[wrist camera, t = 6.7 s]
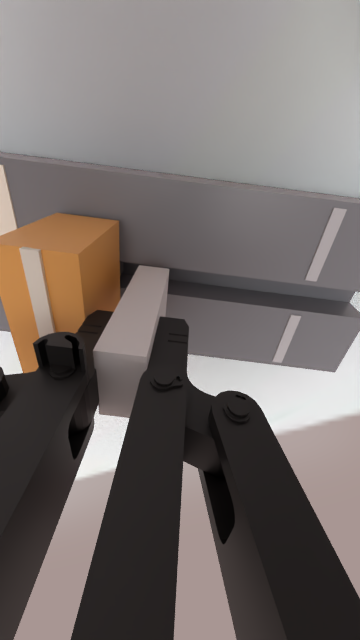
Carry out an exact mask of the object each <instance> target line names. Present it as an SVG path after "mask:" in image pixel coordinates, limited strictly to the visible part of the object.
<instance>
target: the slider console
mask: <svg viewBox="0 0 360 640" xmlns="http://www.w3.org/2000/svg"><path fill="white" fill-rule="evenodd" d="M55 213H63V214H71V215H79V216H86V217H94V218H102V219H110V220H118V221H119V251H120V261H121V262H123V265H124V271H123V272H122V274H121V275H120V300H121V298H122V296H123V294H124V292H125V290H126V289H127V287H128V285H129V283H130V281H131V279H132V277H133V276H134V274H135V272H136V270H137V268H138V266H139V265H142V266H151V267H159V268H167V269H169V280H168V292H167V304H166V316H165V317H169V318H178V319H185V321H186V323H187V324H188V326H189V338H188V354H193V355H201V356H209V357H217V358H225V359H233V360H241V361H249V362H257V363H265V364H273V365H281V366H289V367H297V368H305V369H313V370H321V371H329V372H335V371H336V370H337V368H338V366H339V364H340V363H341V361H342V359H343V358H344V356H345V354H346V353H347V351H348V349H349V348H350V346H351V344H352V342H353V341H354V339H355V337H356V336H357V334H358V332H359V331H360V312H359V311H357V310H356V309H355V308H354V307H353V306H352V305H351V304H350V303H349V302H350V300H351V298H352V297H353V295H354V293H355V291H358V292H360V199H359V198H351V197H344V196H336V195H328V194H320V193H313V192H305V191H297V190H289V189H282V188H274V187H266V186H258V185H251V184H243V183H235V182H228V181H220V180H212V179H204V178H197V177H189V176H181V175H173V174H166V173H158V172H150V171H142V170H135V169H127V168H119V167H111V166H104V165H96V164H88V163H80V162H73V161H65V160H57V159H49V158H42V157H34V156H26V155H18V154H11V153H3V152H0V236H1V235H3V234H6V233H8V232H11V231H13V230H16V229H18V228H20V227H23V226H25V225H28V224H30V223H33V222H35V221H38V220H40V219H43V218H45V217H47V216H50V215H52V214H55ZM0 331H8V332H11V330H10V327H9V324H8V320H7V317H6V314H5V310H4V307H3V304H2V300H1V297H0Z"/></svg>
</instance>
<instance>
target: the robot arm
mask: <svg viewBox="0 0 360 640" xmlns="http://www.w3.org/2000/svg"><path fill="white" fill-rule="evenodd" d="M168 280H169V269H167V268H159V267H151V266H142V265H139V266H138V268H137V270H136V272H135V274H134V276H133V277H132V279H131V281H130V283H129V285H128V287H127V289H126V290H125V292H124V294H123V296H122V298H121V300H120V301H119V303H118V305H117V307H116V309H115V311H114V312H112V311H103V310H96V311H95V312H93V313H92V314H90V315H88V316H87V318H86V319H85V320H84V322H83V323H82V325H81V326H80V328H79V329H78V332H76V333H71V332H56V333H51V334H47V335H45V336H43V337H40V338H39V339H38V340H36V341H35V342H34V343H33V347H34V350H35V354H36V358H37V362H38V366H39V367H38V368H37V370H36V371H34V372H29V373H21V374H12V375H4V372H3V370H2V368H1V367H0V640H13V639H14V636H15V634H16V631H17V629H18V626H19V623H20V621H21V618H22V615H23V613H24V610H25V607H26V605H27V602H28V600H29V597H30V594H31V592H32V589H33V587H34V584H35V581H36V579H37V576H38V574H39V571H40V568H41V566H42V563H43V560H44V558H45V555H46V553H47V550H48V547H49V545H50V542H51V539H52V537H53V534H54V532H55V529H56V526H57V524H58V521H59V519H60V516H61V513H62V511H63V508H64V505H65V503H66V500H67V498H68V495H69V492H70V490H71V487H72V484H73V482H74V479H75V477H76V474H77V471H78V469H79V466H80V464H81V461H82V458H83V456H84V453H85V450H86V448H87V445H88V443H89V440H90V437H91V435H92V432H93V429H94V414H95V411H96V409H97V406H99V414H102V415H110V416H119V417H127V418H130V419H129V423H128V426H127V430H126V434H125V438H124V441H123V445H122V449H121V453H120V456H119V460H118V464H117V468H116V471H115V475H114V479H113V483H112V486H111V490H110V495H109V498H108V502H107V505H106V509H105V513H104V517H103V520H102V524H101V528H100V532H99V535H98V539H97V543H96V547H95V550H94V554H93V558H92V562H91V565H90V569H89V573H88V577H87V581H86V584H85V588H84V592H83V595H82V599H81V603H80V607H79V611H78V614H77V618H76V622H75V625H74V629H73V633H72V637H71V640H173V637H174V620H175V619H174V618H175V601H176V583H177V564H178V546H179V527H180V509H181V491H182V471H183V461H184V462H187V463H188V464H191V465H193V466H195V467H197V468H198V471H199V475H200V480H201V484H202V488H203V493H204V497H205V502H206V506H207V511H208V515H209V519H210V524H211V528H212V533H213V537H214V541H215V546H216V550H217V554H218V559H219V564H220V568H221V572H222V577H223V581H224V586H225V590H226V594H227V599H228V603H229V607H230V612H231V616H232V620H233V625H234V630H235V634H236V638H237V640H360V598H359V597H358V595H357V593H356V591H355V589H354V587H353V585H352V583H351V581H350V579H349V577H348V575H347V574H346V571H345V570H344V568H343V566H342V564H341V562H340V560H339V558H338V556H337V554H336V552H335V550H334V548H333V547H332V545H331V543H330V541H329V539H328V537H327V535H326V533H325V531H324V529H323V527H322V525H321V523H320V521H319V519H318V518H317V516H316V514H315V512H314V510H313V508H312V506H311V504H310V502H309V500H308V498H307V497H306V494H305V492H304V491H303V489H302V487H301V485H300V483H299V481H298V479H297V477H296V475H295V474H294V472H293V469H292V468H291V466H290V464H289V462H288V460H287V458H286V456H285V454H284V452H283V450H282V448H281V446H280V444H279V443H278V440H277V439H276V437H275V435H274V433H273V431H272V429H271V427H270V425H269V423H268V421H267V419H266V417H265V415H264V413H263V411H262V410H261V408H260V407H259V405H258V404H257V403H256V401H255V400H253V399H252V398H251V397H249V396H248V395H246V394H243V393H241V392H238V391H225V392H221V393H220V394H218V395H217V396H216V397H214V396H212V395H209V394H207V393H204V392H202V391H200V390H199V389H197V388H196V387H195V386H193V384H192V383H191V382H190V381H189V379H188V376H187V356H188V338H189V326H188V324H187V323H186V321H185V319H178V318H169V317H165V316H166V304H167V292H168Z"/></svg>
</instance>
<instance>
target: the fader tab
mask: <svg viewBox="0 0 360 640" xmlns="http://www.w3.org/2000/svg"><path fill="white" fill-rule="evenodd" d="M123 271H124V265H123V262H121V261H120V251H119V221H118V220H110V219H102V218H94V217H86V216H79V215H71V214H63V213H55V214H52V215H50V216H47V217H45V218H43V219H40V220H38V221H35V222H33V223H30V224H28V225H25V226H23V227H20V228H18V229H16V230H13V231H11V232H8V233H6V234H3V235H1V236H0V297H1V300H2V304H3V307H4V310H5V314H6V317H7V320H8V324H9V327H10V330H11V334H12V337H13V341H14V344H15V347H16V351H17V354H18V357H19V361H20V364H21V367H22V371H23V373H29V372H34V371H36V370H37V368H38V367H39V366H38V362H37V358H36V354H35V350H34V347H33V343H34V342H35V341H36V340H38V339H39V338H40V337H43V336H45V335H47V334H51V333H56V332H71V333H76V332H78V329H79V328H80V326H81V325H82V323H83V322H84V320H85V319H86V318H87V316H88V315H90V314H92V313H93V312H95V311H96V310H103V311H112V312H114V311H115V309H116V307H117V305H118V303H119V301H120V275H121V274H122V272H123Z"/></svg>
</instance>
